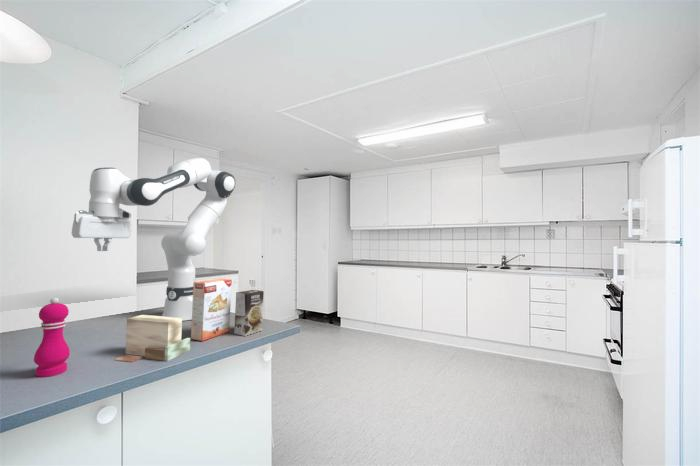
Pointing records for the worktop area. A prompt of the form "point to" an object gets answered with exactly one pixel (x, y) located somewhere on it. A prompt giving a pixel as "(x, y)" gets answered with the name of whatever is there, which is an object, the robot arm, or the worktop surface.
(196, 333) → the cracker box
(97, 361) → the worktop surface
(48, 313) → the pepper mill
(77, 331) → the worktop surface
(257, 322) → the coffee box
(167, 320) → the maple block
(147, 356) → the trap course
